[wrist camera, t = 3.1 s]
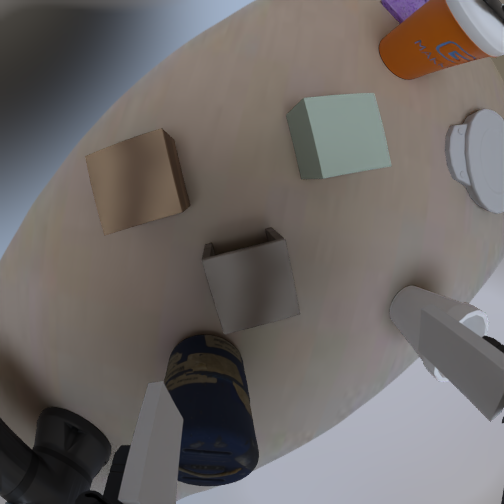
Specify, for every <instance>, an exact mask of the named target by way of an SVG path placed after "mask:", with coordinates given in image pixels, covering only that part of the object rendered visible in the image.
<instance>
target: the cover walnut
mask: <svg viewBox="0 0 504 504" xmlns="http://www.w3.org/2000/svg"><path fill="white" fill-rule="evenodd" d="M85 158H86V163H87V168H88V172H89V177H90V182H91V186H92V190H93V194H94V198H95V202H96V206H97V210H98V214H99V218H100V221H101V225H102V228H103V232H104V235H108V234H111V233H114V232H118V231H121V230H124V229H127V228H130V227H134V226H137V225H140V224H143V223H147V222H150V221H154V220H157V219H160V218H164V217H167V216H171V215H174V214H178V213H181V212H183V211H184V210H186V209H187V208H188V207H190V203H189V199H188V195H187V191H186V187H185V183H184V179H183V175H182V171H181V167H180V163H179V158H178V154H177V150H176V146H175V141H174V139H173V138H172V137H170V136H169V135H168V134H167V133H166V132H165V131H164V130H163V129H162V128H161V129H158V130H154V131H151V132H148V133H145V134H142V135H139V136H136V137H133V138H131V139H128V140H125V141H122V142H120V143H117V144H114V145H112V146H109V147H107V148H104V149H101V150H99V151H97V152H94V153H92V154H89V155H87V156H85Z"/></svg>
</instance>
